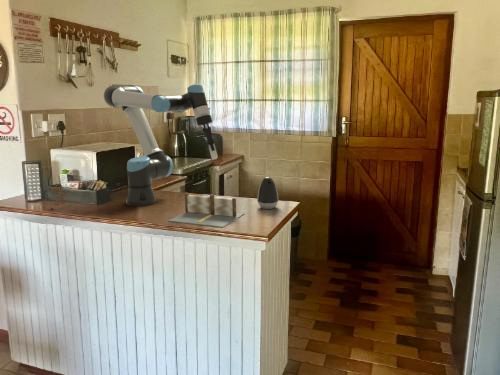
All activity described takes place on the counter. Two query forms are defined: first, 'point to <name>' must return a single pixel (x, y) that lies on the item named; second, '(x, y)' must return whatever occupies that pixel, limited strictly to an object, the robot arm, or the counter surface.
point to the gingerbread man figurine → (59, 194)
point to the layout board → (205, 219)
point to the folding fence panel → (225, 206)
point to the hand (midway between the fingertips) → (215, 158)
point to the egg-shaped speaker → (267, 194)
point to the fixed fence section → (199, 204)
